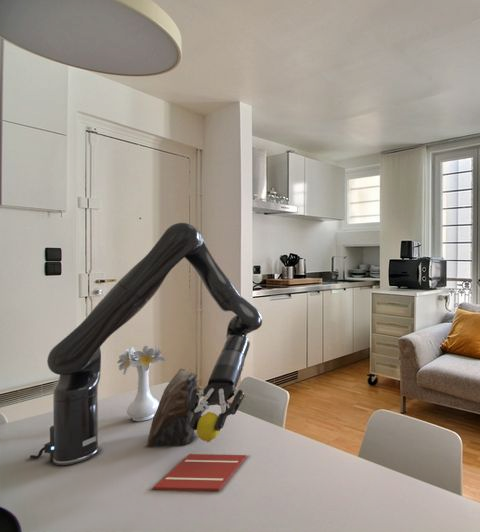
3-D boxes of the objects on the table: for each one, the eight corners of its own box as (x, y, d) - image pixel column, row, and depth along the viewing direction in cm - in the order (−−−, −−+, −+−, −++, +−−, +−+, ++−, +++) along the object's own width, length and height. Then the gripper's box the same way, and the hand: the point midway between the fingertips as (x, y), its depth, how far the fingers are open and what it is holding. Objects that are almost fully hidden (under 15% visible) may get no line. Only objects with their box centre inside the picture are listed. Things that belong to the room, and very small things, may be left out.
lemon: (210, 448, 93) (210, 417, 93) (191, 445, 94) (191, 415, 94) (225, 438, 99) (225, 408, 99) (207, 435, 100) (207, 406, 100)
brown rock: (176, 427, 121) (176, 366, 120) (211, 430, 119) (212, 368, 118) (144, 446, 108) (144, 379, 108) (183, 450, 106) (183, 381, 106)
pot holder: (153, 489, 88) (153, 486, 88) (189, 456, 103) (189, 453, 103) (219, 491, 88) (219, 488, 88) (246, 457, 103) (246, 454, 103)
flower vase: (143, 406, 137) (142, 339, 136) (177, 415, 130) (177, 344, 129) (103, 420, 125) (103, 347, 124) (138, 430, 118) (138, 353, 117)
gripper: (198, 362, 104) (171, 423, 92) (248, 363, 104) (227, 424, 92) (208, 375, 109) (183, 434, 98) (256, 376, 109) (237, 435, 97)
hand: (205, 429), depth 95 cm, fingers closed on lemon, 5 cm apart
